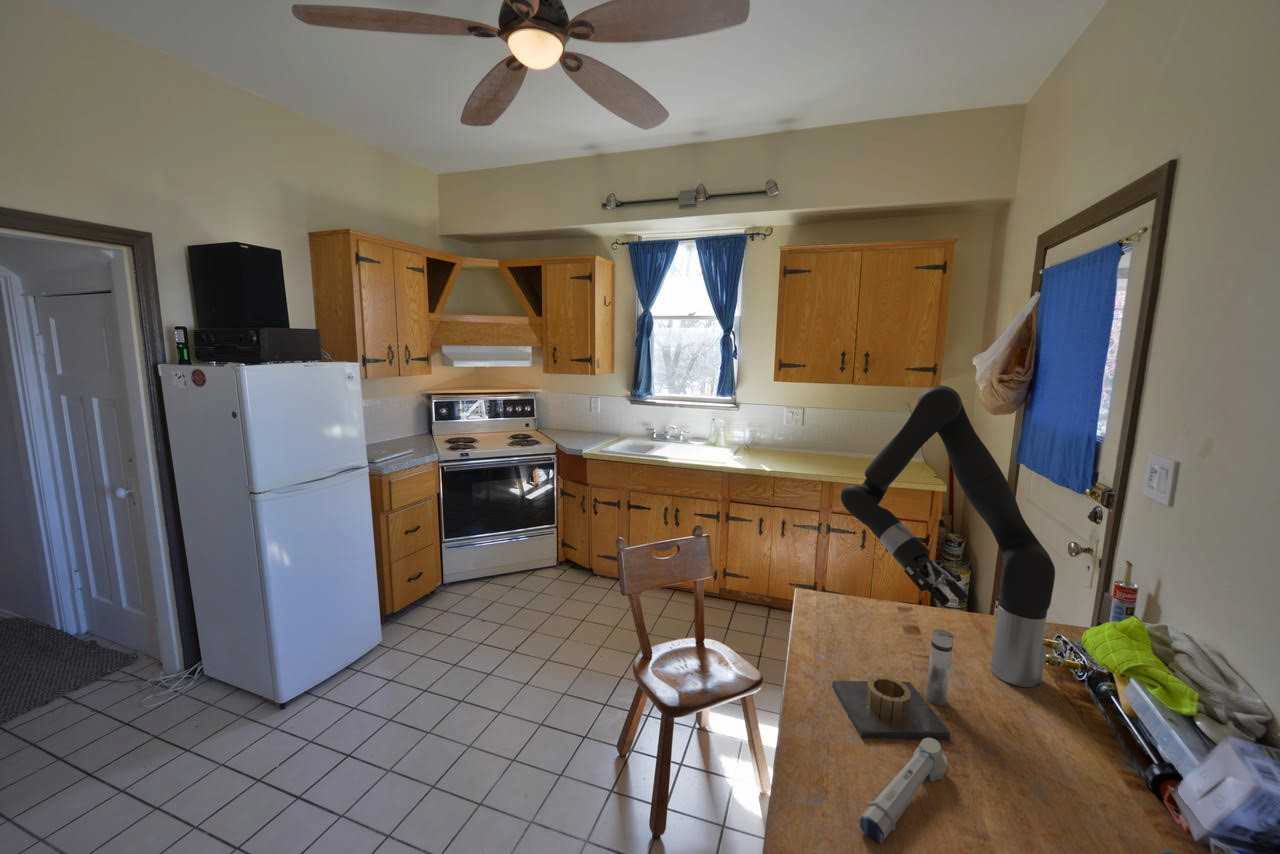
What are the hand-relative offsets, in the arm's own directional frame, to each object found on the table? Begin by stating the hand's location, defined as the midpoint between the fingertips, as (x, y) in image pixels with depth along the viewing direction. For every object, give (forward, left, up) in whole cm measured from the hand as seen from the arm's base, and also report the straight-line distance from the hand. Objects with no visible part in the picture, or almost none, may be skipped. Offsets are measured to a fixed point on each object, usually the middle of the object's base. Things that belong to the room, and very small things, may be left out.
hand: (956, 601), depth 117 cm
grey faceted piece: (+26, +31, -22) cm, 46 cm away
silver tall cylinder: (+5, +5, -21) cm, 22 cm away
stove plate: (+18, +9, -21) cm, 30 cm away
